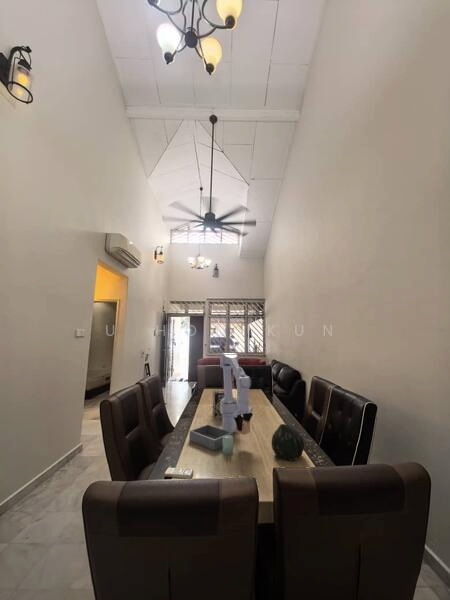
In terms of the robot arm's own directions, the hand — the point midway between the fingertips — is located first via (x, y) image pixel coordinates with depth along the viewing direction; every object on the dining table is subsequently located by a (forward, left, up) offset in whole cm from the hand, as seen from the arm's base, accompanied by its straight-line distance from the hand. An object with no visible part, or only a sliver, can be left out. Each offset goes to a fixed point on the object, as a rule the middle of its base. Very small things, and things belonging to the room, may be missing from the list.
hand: (242, 429), depth 131 cm
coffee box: (-26, -38, -9) cm, 47 cm away
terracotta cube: (0, 0, -2) cm, 2 cm away
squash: (-6, +22, -9) cm, 24 cm away
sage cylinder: (+10, -1, -8) cm, 13 cm away
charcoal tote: (+7, -15, -8) cm, 19 cm away
